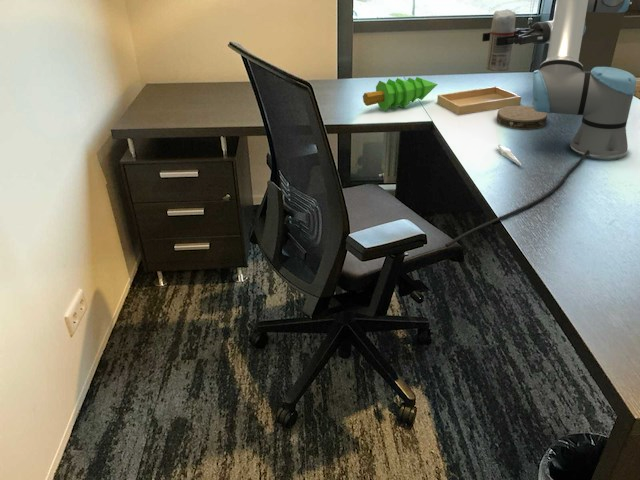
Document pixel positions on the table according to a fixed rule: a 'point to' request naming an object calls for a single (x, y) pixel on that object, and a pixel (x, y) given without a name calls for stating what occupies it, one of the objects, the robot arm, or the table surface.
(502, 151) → the white toy shark
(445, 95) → the tray
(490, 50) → the spray can
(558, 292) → the table surface
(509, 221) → the table surface
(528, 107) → the brown wooden disc
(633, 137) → the table surface
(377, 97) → the decorative tree
